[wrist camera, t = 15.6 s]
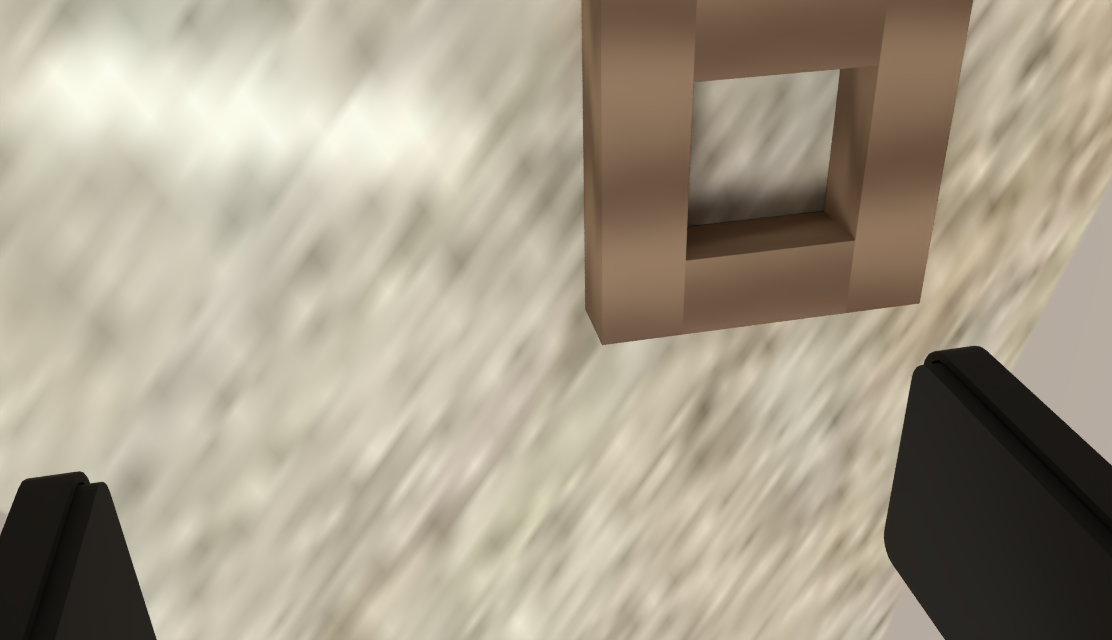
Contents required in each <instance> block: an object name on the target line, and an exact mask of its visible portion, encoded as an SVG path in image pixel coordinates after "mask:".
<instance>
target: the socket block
mask: <svg viewBox="0 0 1112 640" xmlns="http://www.w3.org/2000/svg"><path fill="white" fill-rule="evenodd" d="M972 3H973V0H582V71H583V149H584V228H585V307H586V312H587V314H588V316H589V318H590V320H591V322H592V324H593V326H594V329H595V331H596V333H597V335H598V337H599V339H600V341H601V343H602V345H606V344H614V343H622V342H629V341H637V340H644V339H652V338H660V337H667V336H675V335H682V334H690V333H698V332H705V331H713V330H720V329H728V328H736V327H743V326H751V325H758V324H766V323H773V322H781V321H789V320H796V319H804V318H811V317H819V316H827V315H834V314H842V313H849V312H857V311H865V310H872V309H880V308H887V307H895V306H903V305H910V304H918V303H920V298H921V292H922V286H923V281H924V275H925V269H926V264H927V258H928V252H929V247H930V241H931V235H932V230H933V224H934V218H935V213H936V207H937V201H938V196H939V190H940V184H941V179H942V173H943V167H944V162H945V156H946V150H947V145H948V139H949V133H950V128H951V122H952V116H953V111H954V105H955V99H956V94H957V88H958V82H959V77H960V71H961V65H962V60H963V54H964V48H965V43H966V37H967V31H968V26H969V20H970V14H971V9H972ZM834 69H840V78H839V86H838V95H837V103H836V112H835V121H834V129H833V138H832V146H831V155H830V164H829V172H828V181H827V189H826V198H825V207H824V211H821V212H812V213H803V214H794V215H785V216H777V217H768V218H759V219H750V220H742V221H733V222H724V223H715V224H706V225H698V226H689V227H687V218H688V195H689V172H690V148H691V125H692V102H693V82H700V81H711V80H722V79H734V78H745V77H756V76H767V75H778V74H789V73H800V72H811V71H823V70H834Z"/></svg>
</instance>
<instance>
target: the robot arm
mask: <svg viewBox="0 0 1112 640" xmlns="http://www.w3.org/2000/svg"><path fill="white" fill-rule="evenodd" d="M884 543H885V548H886V552H887V554H888V557H889V559H890V561H891V563H892V564H893V566H894V567H895V569H896V570H897V571H898V573H899V574H900V576H901V577H902V579H903V580H904V582H905V583H906V584H907V586H908V587H909V589H910V590H911V591H912V593H913V594H914V596H915V597H916V599H917V600H918V602H919V603H920V604H921V606H922V607H923V609H924V610H925V611H926V613H927V615H928V616H929V617H930V619H931V620H932V621H933V623H934V625H935V626H936V627H937V629H938V630H939V632H940V633H941V635H942V636H943V637H944V639H945V640H1112V465H1111V464H1109V463H1108V462H1107V461H1106V460H1105V459H1104V458H1103V457H1102V456H1101V455H1100V454H1099V453H1097V452H1096V451H1095V450H1094V449H1093V448H1092V447H1091V446H1090V445H1089V444H1087V442H1086V441H1084V440H1083V439H1082V438H1081V437H1080V436H1079V435H1078V434H1077V433H1076V432H1075V431H1074V430H1072V429H1071V428H1070V427H1069V426H1068V425H1067V424H1066V423H1065V422H1064V421H1063V420H1062V419H1060V418H1059V417H1058V416H1057V415H1056V414H1055V413H1054V412H1053V411H1052V410H1051V409H1050V408H1048V407H1047V406H1046V405H1045V404H1044V403H1043V402H1042V401H1041V400H1040V399H1039V398H1038V397H1037V396H1035V395H1034V394H1033V393H1032V392H1031V391H1030V390H1029V389H1028V388H1027V387H1026V386H1025V385H1023V384H1022V383H1021V382H1020V381H1019V380H1018V379H1017V378H1016V377H1015V376H1014V375H1013V374H1012V373H1010V372H1009V371H1008V370H1007V369H1006V368H1005V367H1004V366H1003V365H1002V364H1001V363H1000V362H998V361H997V360H996V359H995V358H994V357H993V356H992V355H991V354H990V353H989V352H988V351H986V350H985V349H983V348H982V347H979V346H969V347H962V348H955V349H948V350H941V351H934V352H932V353H930V354H929V355H928V356H927V358H926V359H925V362H924V365H920V366H918V367H916V369H915V370H914V372H913V375H912V380H911V385H910V391H909V396H908V402H907V407H906V413H905V419H904V424H903V430H902V435H901V441H900V446H899V452H898V458H897V463H896V469H895V474H894V480H893V485H892V491H891V496H890V502H889V508H888V513H887V519H886V524H885V530H884ZM0 640H157V639H156V636H155V633H154V630H153V627H152V624H151V620H150V617H149V614H148V611H147V608H146V605H145V601H144V598H143V595H142V592H141V589H140V586H139V582H138V579H137V576H136V573H135V570H134V567H133V563H132V560H131V557H130V554H129V551H128V548H127V544H126V541H125V538H124V535H123V532H122V529H121V525H120V522H119V519H118V516H117V513H116V510H115V506H114V503H113V500H112V497H111V494H110V491H109V489H108V486H107V485H106V484H105V483H104V482H98V483H91V484H90V482H89V480H88V478H87V476H86V475H85V474H84V473H83V472H80V471H79V472H71V473H64V474H57V475H50V476H43V477H36V478H29V479H26V480H24V481H22V483H21V485H20V486H19V488H18V491H17V494H16V496H15V499H14V501H13V504H12V506H11V509H10V512H9V514H8V517H7V519H6V522H5V524H4V527H3V530H2V532H1V535H0Z"/></svg>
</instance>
